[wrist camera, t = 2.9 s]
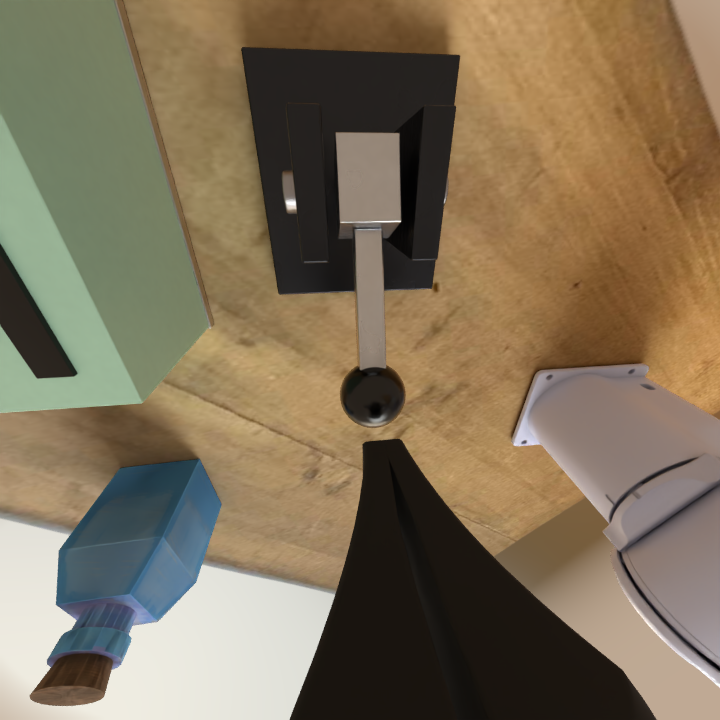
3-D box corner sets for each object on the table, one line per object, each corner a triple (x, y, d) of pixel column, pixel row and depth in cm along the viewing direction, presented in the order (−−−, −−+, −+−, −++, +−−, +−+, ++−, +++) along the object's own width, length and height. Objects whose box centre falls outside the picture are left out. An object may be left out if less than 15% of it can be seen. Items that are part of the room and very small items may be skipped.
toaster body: (117, -23, 11) (-269, -423, 4) (214, 324, 18) (143, 408, 11) (-132, -37, 10) (-1168, -558, 3) (73, 331, 17) (-100, 425, 10)
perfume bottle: (199, 458, 24) (101, 666, 13) (221, 504, 27) (156, 701, 16) (120, 468, 23) (-45, 690, 13) (152, 513, 26) (40, 721, 16)
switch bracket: (426, 283, 18) (474, 326, 12) (281, 289, 17) (259, 337, 11) (450, 65, 13) (551, -39, 7) (247, 58, 12) (177, -64, 6)
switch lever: (397, 411, 14) (413, 436, 11) (340, 415, 14) (343, 442, 11) (393, 169, 12) (411, 128, 9) (326, 169, 12) (325, 127, 9)
